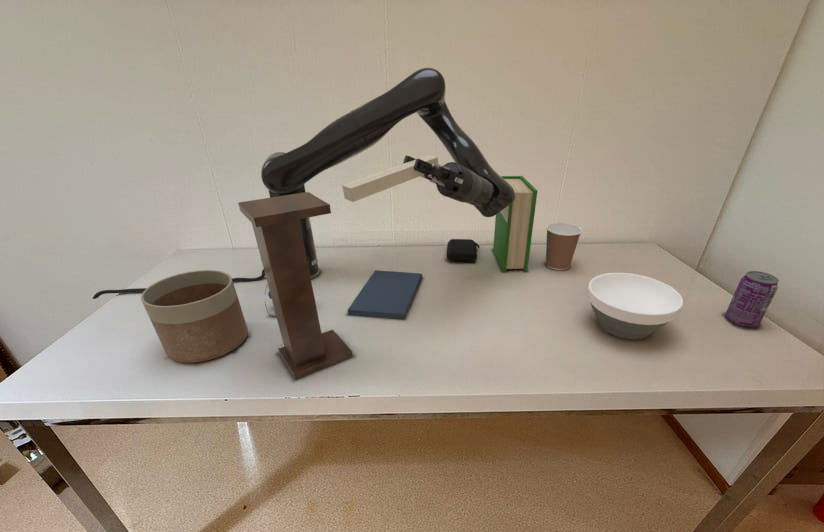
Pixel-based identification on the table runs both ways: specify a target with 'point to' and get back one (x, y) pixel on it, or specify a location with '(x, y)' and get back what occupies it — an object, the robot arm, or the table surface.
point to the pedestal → (293, 280)
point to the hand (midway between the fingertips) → (410, 162)
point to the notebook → (386, 295)
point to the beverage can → (752, 298)
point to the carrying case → (462, 250)
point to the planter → (196, 315)
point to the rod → (384, 179)
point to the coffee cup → (561, 244)
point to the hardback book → (515, 226)
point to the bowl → (632, 304)
